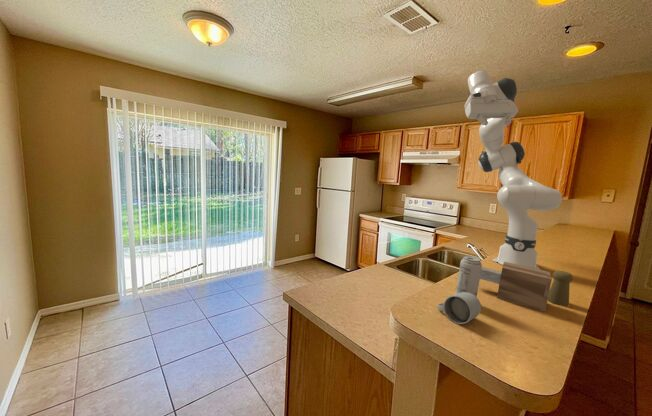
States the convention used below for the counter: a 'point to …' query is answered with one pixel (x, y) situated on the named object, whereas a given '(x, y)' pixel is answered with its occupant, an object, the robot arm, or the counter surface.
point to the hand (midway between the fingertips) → (497, 124)
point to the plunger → (490, 275)
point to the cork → (560, 288)
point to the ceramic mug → (461, 307)
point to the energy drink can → (469, 275)
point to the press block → (524, 286)
